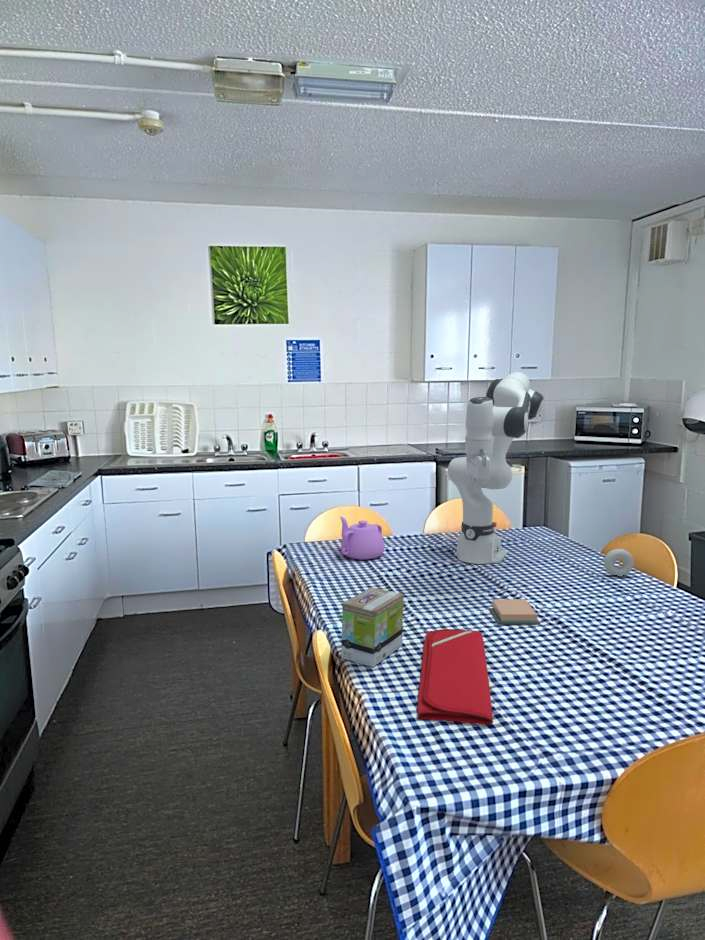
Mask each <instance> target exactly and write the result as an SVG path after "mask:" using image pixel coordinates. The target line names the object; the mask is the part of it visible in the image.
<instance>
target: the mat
mask: <svg viewBox="0 0 705 940" xmlns="http://www.w3.org/2000/svg"><path fill="white" fill-rule="evenodd" d="M489 612H490V614H491V615H492V617H493V619H494V621H495V623H496V624H497V625H541V624H540V621H539V619H538V618H537V622H509V623H501V621H500V619H499V617H498V616H497V614H496V612H495V611H494V609H493V607H489Z"/></svg>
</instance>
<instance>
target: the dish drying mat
mask: <svg viewBox="0 0 705 940" xmlns="http://www.w3.org/2000/svg"><path fill="white" fill-rule="evenodd" d="M486 656H487V655H486V649H485V642H484V635H483V633H482V632H481V631H479V630H470V629H469V630H468V629H456V628H452V629H451V628H442V629H437V630H430V631H429V630H428V631H427V632H426V634H425V638H424V643H423V650H422V658H421V668H420V669H421V670H420V678H419V685H418V693H417V694H418V696H417V718H418V720H422V721H423V720H429V721H439V720H442V722H444V721H443V720H446V721H445V722H451V721H457V722H456V723H462V722H468V723H467V724H473V723H478V724H477V725H483V724H484V725H485V726H491V725H493V723H494V720H493V719H494V717H493V716H494V715H493V709H492V697H491V689H490V688H491V687H490V680H489V673H488V665H487V657H486ZM469 722H471V723H469ZM484 725H483V726H484Z"/></svg>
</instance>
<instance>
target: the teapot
mask: <svg viewBox="0 0 705 940" xmlns="http://www.w3.org/2000/svg"><path fill="white" fill-rule="evenodd" d="M339 518H340V520H341V523H342V525H341V528H342V529H341V544H340V551H341V552H340V553H341V554H342V555H345V557H347V558H349V559H353V560H355V559H356V560H361V561H365V560H370V559H377V558H379V557H380V556H382V554H383V553H384V552H385V550H386V546H385V545H386V544H385V541H384V538H383V535H382V533H383V527H382V526H381V525H380V524H378V523H375V524H372V523H371V524H370V523H368V520H367V521H366V520H358V523H354V524H352V525H350V526H348V525H349V524H348V522H347V519H346V518H345V517H344V516H339Z"/></svg>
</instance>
